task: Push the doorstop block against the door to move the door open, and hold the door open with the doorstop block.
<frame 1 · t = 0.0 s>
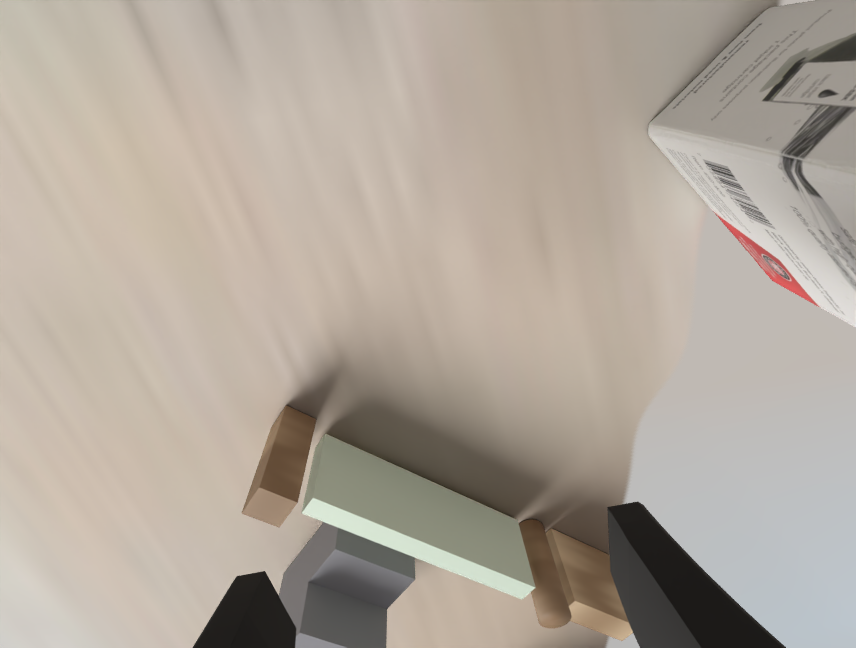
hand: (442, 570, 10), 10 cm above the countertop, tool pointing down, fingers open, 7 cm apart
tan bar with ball: (529, 529, 25), on the countertop
door: (419, 522, 21), point 2 cm above the countertop, hinge at 0.0°
ink box: (765, 158, 17), on the countertop
doorstop block: (347, 549, 25), on the countertop
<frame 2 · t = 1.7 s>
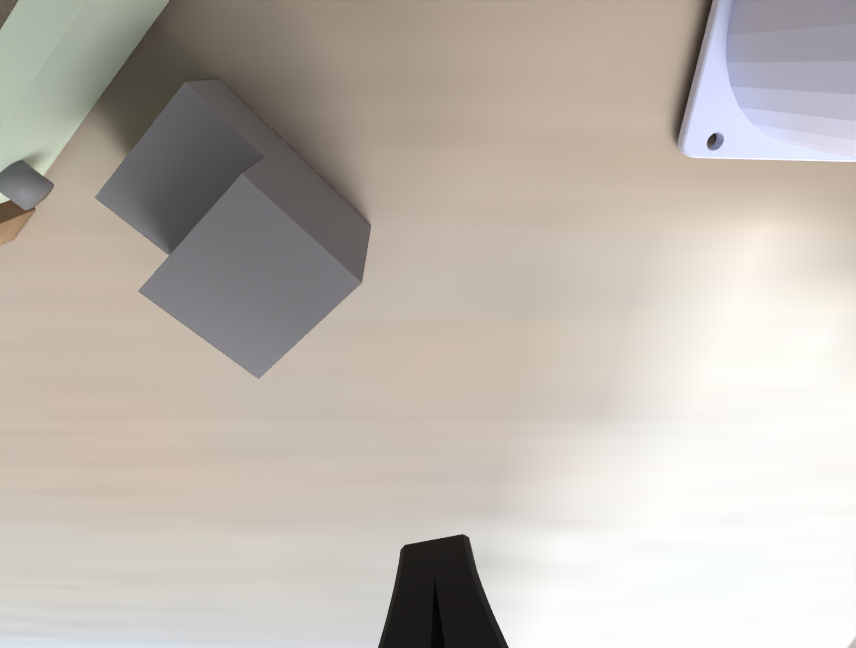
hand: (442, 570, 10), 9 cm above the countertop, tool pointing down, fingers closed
door: (90, 58, 12), point 2 cm above the countertop, hinge at 0.0°
doorstop block: (261, 201, 16), on the countertop
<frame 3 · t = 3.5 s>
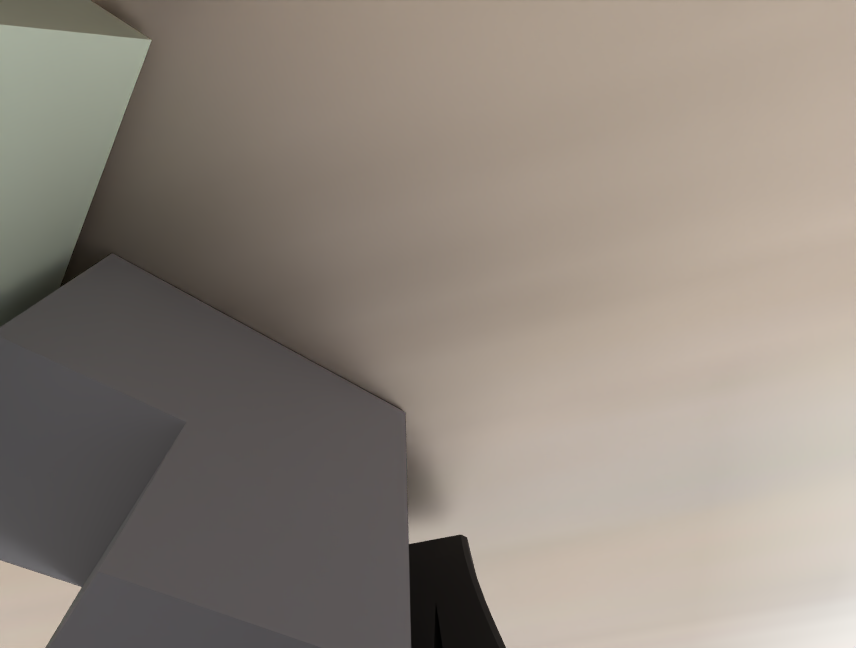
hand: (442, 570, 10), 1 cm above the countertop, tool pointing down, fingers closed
doorstop block: (225, 412, 10), on the countertop, touching gripper
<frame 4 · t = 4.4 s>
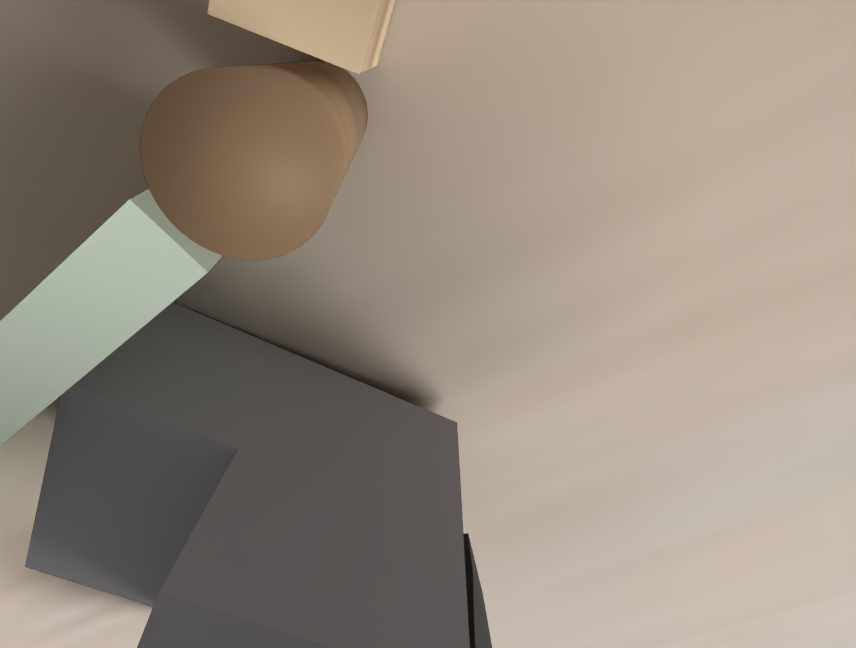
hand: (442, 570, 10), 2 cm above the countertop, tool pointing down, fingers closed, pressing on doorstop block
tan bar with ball: (322, 112, 8), on the countertop
door: (12, 420, 8), point 2 cm above the countertop, hinge at 32.8°, touching doorstop block
doorstop block: (285, 438, 10), on the countertop, touching door, gripper
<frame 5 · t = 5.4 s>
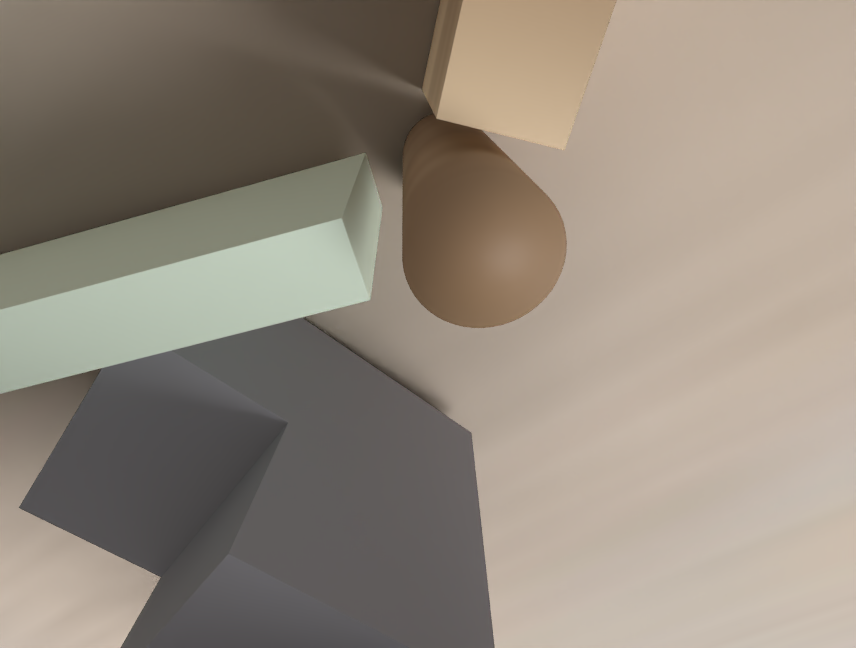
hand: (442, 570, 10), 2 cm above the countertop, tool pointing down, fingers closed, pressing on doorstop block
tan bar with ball: (445, 157, 8), on the countertop
door: (27, 331, 7), point 2 cm above the countertop, hinge at 62.5°, touching doorstop block
doorstop block: (298, 419, 10), on the countertop, tilted 6°, touching door, gripper
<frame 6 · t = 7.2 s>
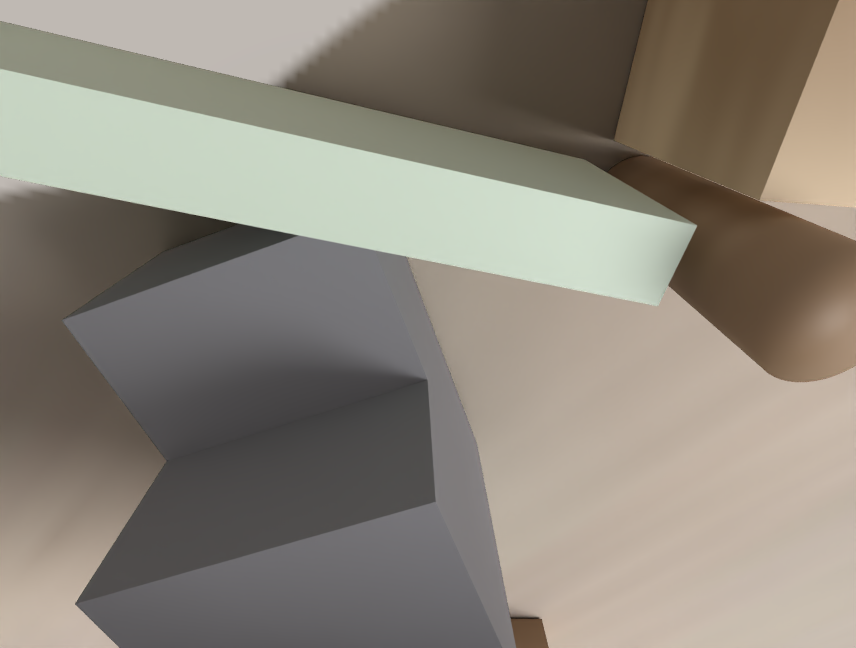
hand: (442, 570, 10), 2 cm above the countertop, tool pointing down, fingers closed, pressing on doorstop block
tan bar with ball: (634, 198, 9), on the countertop
door: (208, 162, 6), point 2 cm above the countertop, hinge at 98.2°, touching doorstop block
doorstop block: (336, 358, 10), on the countertop, touching door, gripper
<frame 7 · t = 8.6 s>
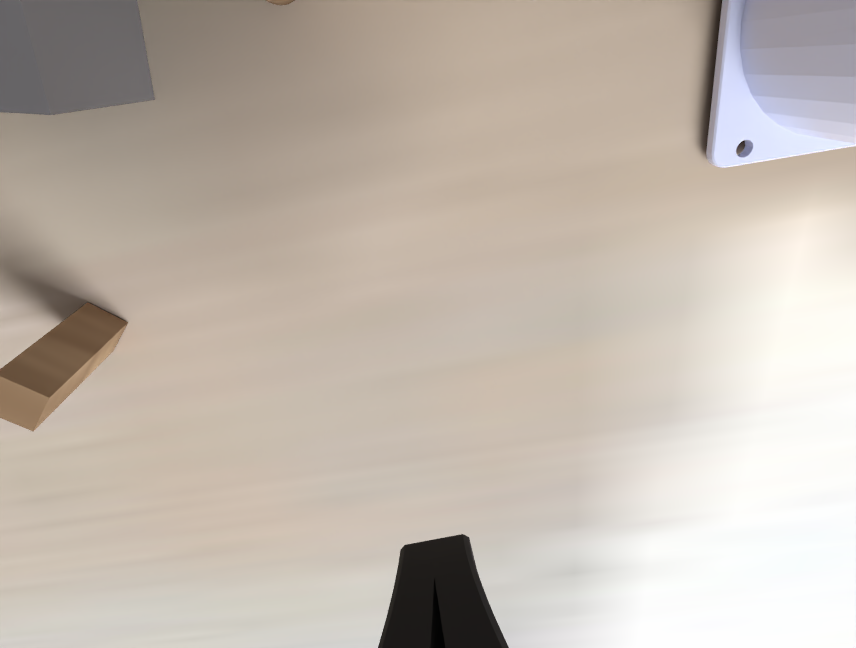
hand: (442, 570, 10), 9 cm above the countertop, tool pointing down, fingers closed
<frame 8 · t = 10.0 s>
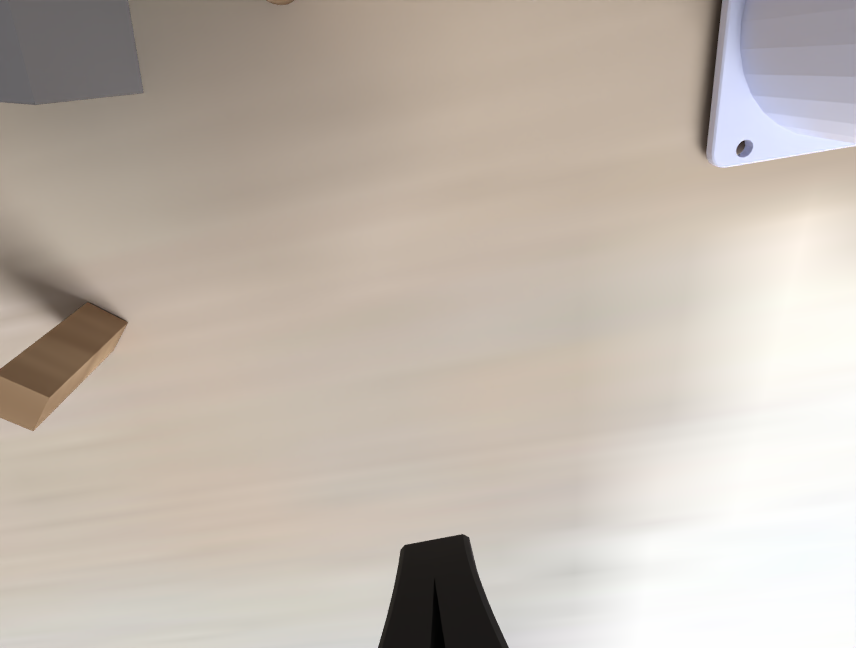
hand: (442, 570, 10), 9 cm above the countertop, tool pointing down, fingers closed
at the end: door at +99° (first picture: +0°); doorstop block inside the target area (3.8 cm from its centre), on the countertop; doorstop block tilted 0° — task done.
